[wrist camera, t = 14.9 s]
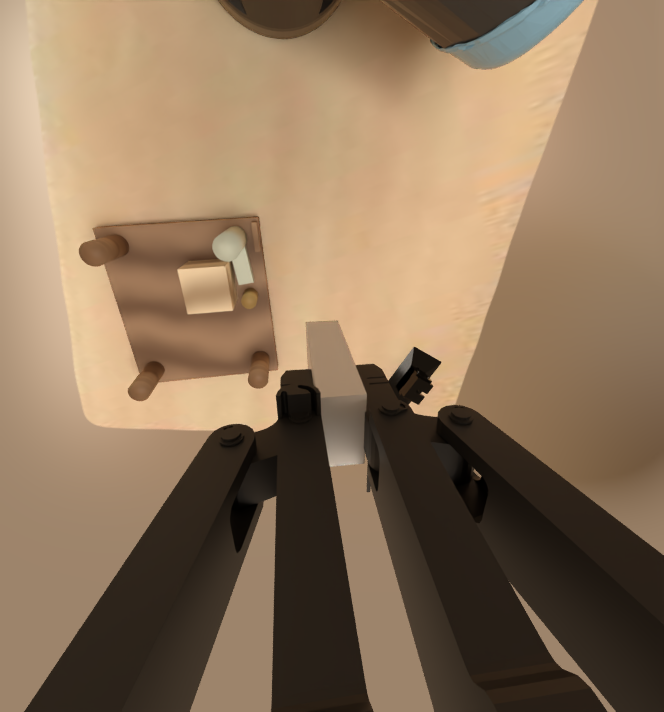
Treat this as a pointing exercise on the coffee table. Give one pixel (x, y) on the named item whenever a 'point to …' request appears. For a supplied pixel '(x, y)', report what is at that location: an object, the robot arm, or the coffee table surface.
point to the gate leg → (234, 252)
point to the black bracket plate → (414, 376)
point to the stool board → (167, 305)
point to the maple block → (208, 286)
